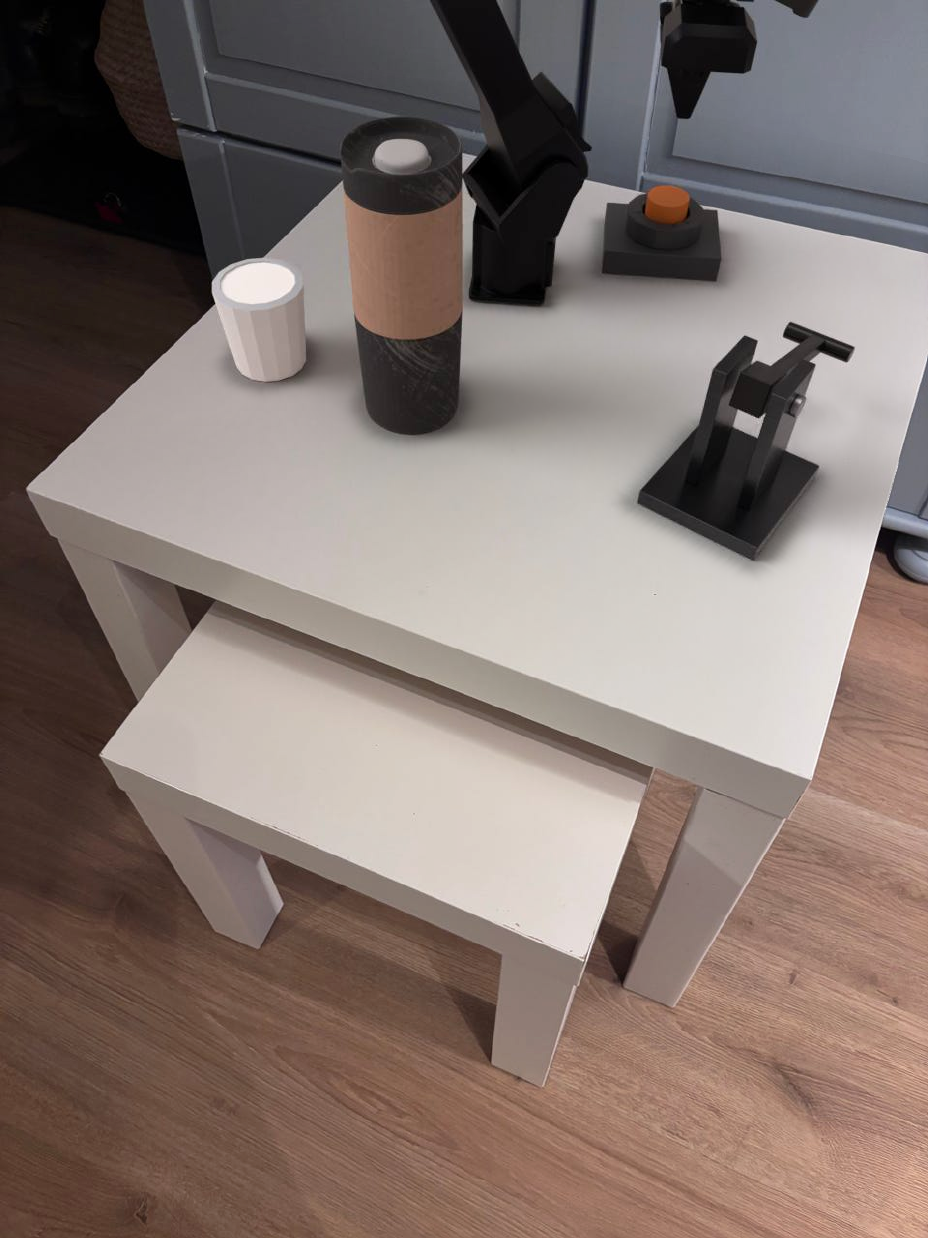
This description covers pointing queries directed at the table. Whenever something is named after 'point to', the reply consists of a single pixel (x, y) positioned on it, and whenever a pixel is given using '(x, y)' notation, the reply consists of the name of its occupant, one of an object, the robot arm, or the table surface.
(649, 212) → the power button
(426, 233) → the travel mug
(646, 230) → the control block
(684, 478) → the switch bracket
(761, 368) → the switch lever
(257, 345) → the shot glass
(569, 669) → the table surface
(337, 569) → the table surface
